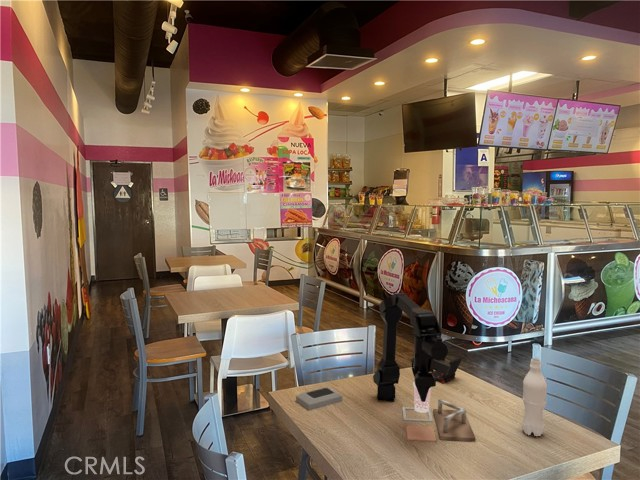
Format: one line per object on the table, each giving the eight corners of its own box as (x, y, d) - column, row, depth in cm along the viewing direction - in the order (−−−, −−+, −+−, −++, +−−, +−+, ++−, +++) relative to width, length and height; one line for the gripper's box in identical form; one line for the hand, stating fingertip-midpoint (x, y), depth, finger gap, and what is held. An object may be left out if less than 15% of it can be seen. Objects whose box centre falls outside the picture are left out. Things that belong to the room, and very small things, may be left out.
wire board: (440, 439, 154) (440, 421, 153) (433, 412, 174) (433, 395, 173) (475, 441, 153) (476, 423, 152) (464, 413, 172) (464, 397, 172)
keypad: (296, 393, 183) (328, 384, 191) (296, 402, 183) (328, 393, 191) (309, 401, 175) (342, 392, 183) (309, 411, 175) (342, 402, 183)
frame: (403, 420, 167) (403, 419, 167) (402, 408, 177) (402, 407, 177) (432, 422, 166) (432, 421, 166) (429, 409, 176) (429, 408, 176)
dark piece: (437, 372, 213) (438, 350, 212) (461, 380, 204) (462, 357, 203) (425, 377, 207) (425, 355, 206) (449, 386, 198) (450, 362, 197)
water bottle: (520, 435, 157) (523, 361, 154) (522, 426, 163) (525, 355, 161) (544, 440, 153) (547, 365, 151) (545, 431, 160) (548, 358, 157)
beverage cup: (434, 413, 154) (435, 371, 153) (415, 414, 154) (416, 372, 152) (427, 405, 160) (428, 364, 159) (409, 406, 160) (410, 365, 158)
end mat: (407, 440, 154) (407, 438, 154) (405, 426, 163) (405, 425, 163) (436, 441, 153) (436, 440, 153) (432, 428, 162) (432, 427, 161)
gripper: (453, 361, 145) (451, 410, 146) (444, 342, 163) (443, 386, 165) (416, 359, 146) (414, 408, 148) (411, 341, 165) (410, 384, 166)
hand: (422, 396), depth 157 cm, fingers closed on beverage cup, 7 cm apart
